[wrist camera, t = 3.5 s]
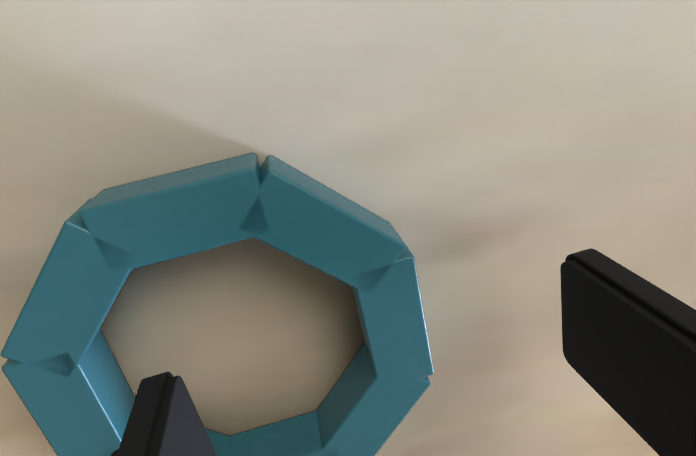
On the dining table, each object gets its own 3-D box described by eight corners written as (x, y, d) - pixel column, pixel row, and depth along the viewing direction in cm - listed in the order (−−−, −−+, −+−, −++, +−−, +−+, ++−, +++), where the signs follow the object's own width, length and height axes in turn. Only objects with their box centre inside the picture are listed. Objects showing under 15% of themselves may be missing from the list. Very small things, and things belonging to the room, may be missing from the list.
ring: (377, 121, 12) (393, 132, 10) (430, 414, 16) (448, 452, 14) (-32, 222, 11) (-79, 250, 9) (133, 502, 15) (119, 553, 13)
